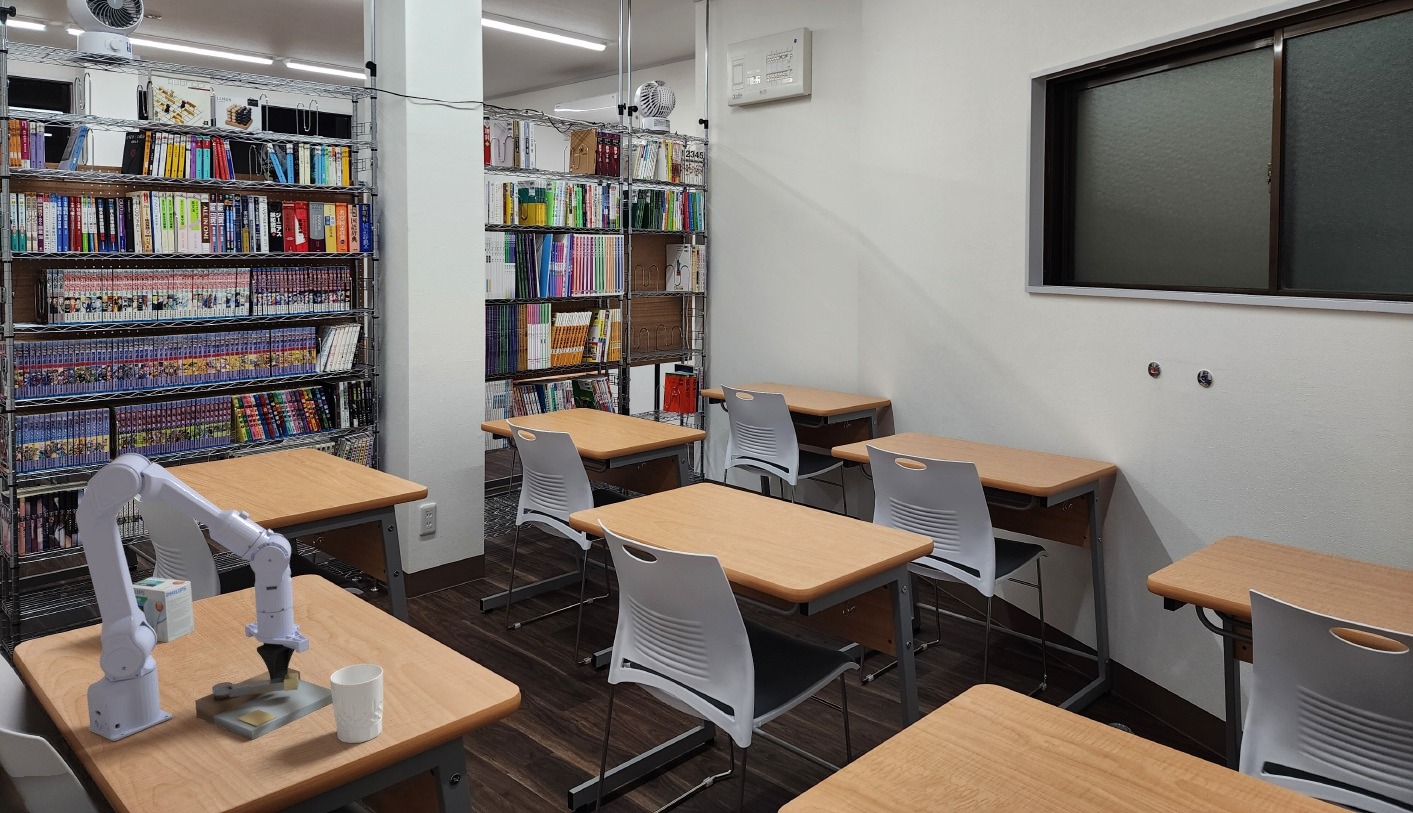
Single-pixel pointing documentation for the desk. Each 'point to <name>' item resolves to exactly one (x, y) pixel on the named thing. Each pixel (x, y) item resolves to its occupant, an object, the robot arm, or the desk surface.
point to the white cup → (358, 702)
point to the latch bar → (255, 687)
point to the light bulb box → (166, 606)
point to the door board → (263, 707)
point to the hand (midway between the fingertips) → (279, 683)
